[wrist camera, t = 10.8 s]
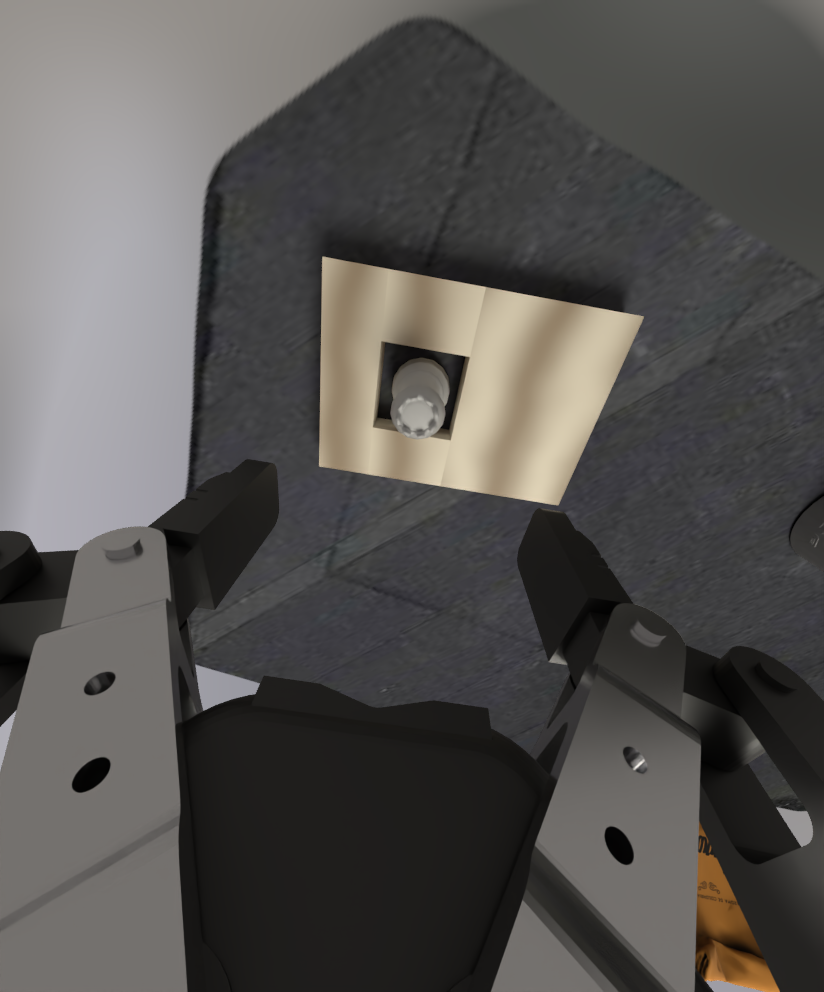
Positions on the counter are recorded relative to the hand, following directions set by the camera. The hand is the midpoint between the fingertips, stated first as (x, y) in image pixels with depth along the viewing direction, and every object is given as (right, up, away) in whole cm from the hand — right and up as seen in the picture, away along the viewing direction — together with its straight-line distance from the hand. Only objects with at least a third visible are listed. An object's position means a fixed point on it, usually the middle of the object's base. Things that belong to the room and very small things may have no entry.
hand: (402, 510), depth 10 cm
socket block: (+4, +8, +15) cm, 18 cm away
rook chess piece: (+1, +9, +16) cm, 18 cm away
